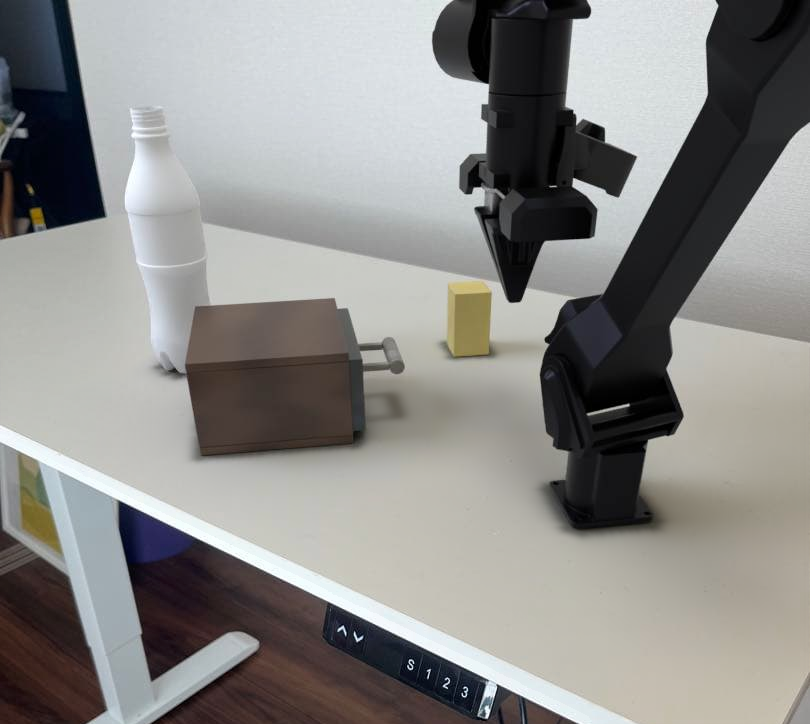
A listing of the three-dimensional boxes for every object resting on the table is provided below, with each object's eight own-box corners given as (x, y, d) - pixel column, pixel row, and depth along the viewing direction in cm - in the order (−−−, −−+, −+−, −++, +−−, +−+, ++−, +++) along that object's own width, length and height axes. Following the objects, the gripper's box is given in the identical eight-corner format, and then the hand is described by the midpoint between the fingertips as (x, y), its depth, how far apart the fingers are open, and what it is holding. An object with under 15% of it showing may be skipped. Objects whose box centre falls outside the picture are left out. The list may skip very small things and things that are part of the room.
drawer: (391, 369, 85) (389, 305, 81) (411, 426, 74) (410, 355, 71) (229, 380, 83) (219, 315, 80) (225, 441, 72) (214, 369, 69)
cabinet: (339, 378, 86) (334, 297, 81) (353, 443, 74) (348, 352, 69) (208, 388, 84) (194, 306, 79) (200, 455, 72) (184, 363, 67)
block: (488, 354, 91) (492, 291, 87) (453, 357, 90) (454, 294, 86) (480, 341, 94) (483, 280, 90) (446, 344, 93) (447, 282, 90)
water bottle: (142, 370, 88) (88, 111, 74) (186, 348, 93) (144, 101, 79) (194, 382, 85) (149, 115, 71) (237, 359, 91) (202, 105, 76)
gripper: (685, 103, 53) (648, 334, 62) (590, 76, 69) (571, 264, 77) (520, 109, 52) (506, 344, 61) (460, 80, 67) (455, 271, 76)
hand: (513, 301), depth 69 cm, fingers closed
